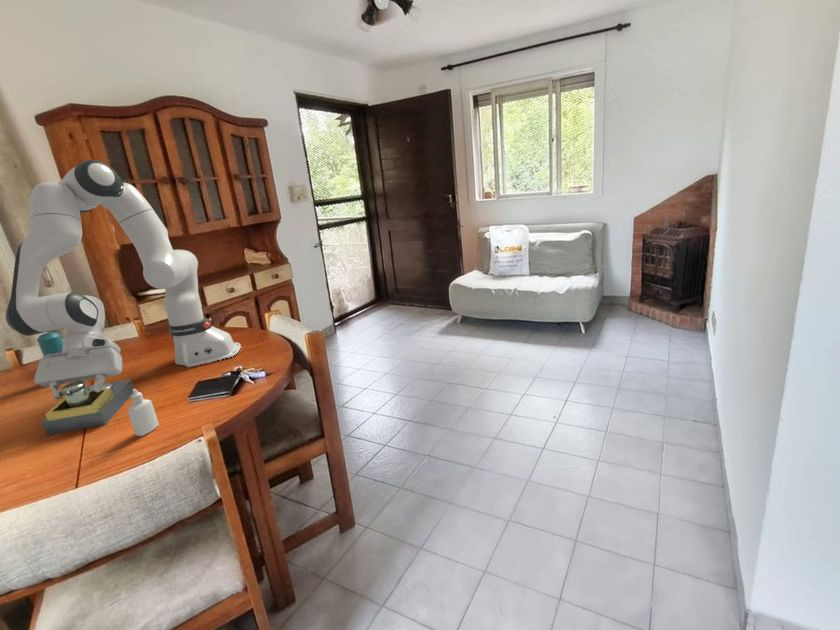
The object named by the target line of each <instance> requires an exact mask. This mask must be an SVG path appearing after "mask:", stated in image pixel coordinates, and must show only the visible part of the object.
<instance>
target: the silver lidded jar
mask: <svg viewBox="0 0 840 630" xmlns="http://www.w3.org/2000/svg"><path fill="white" fill-rule="evenodd" d="M86 387H87V386H86V383H85V381H78V382H72V383H67V384H66V385H64V386H63V387H62V388H61V389H60V391H61V392H62V395H63V398H65V399H66V401H67V403H68V405H69V408H76V407H82V406H87V405H91V404H92V403H93V402H92V399H91V397H90V395H89V393H88V390H87V388H86Z"/></svg>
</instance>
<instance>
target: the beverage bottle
mask: <svg viewBox="0 0 840 630" xmlns="http://www.w3.org/2000/svg"><path fill="white" fill-rule="evenodd" d="M39 335H40V336H38V337H37V339H36V341H37V344H38V346H39V348H40V352H41V354H42V355H43V357H44V356H46V355H47V354H54V353H59V352H62V349H63V342H64V340H63V338H62V337H61V334H60V333H58V332H55V331H49V332H48V331H46V332H44V333H41V334H39Z"/></svg>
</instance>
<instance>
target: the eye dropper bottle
mask: <svg viewBox="0 0 840 630" xmlns="http://www.w3.org/2000/svg"><path fill="white" fill-rule="evenodd" d="M129 398H130V400H131V402H132V404H131V405H130V407H129V408H128V416H129V419H130V422H131V423H130V424H131V426H132V429H133V431H134V434H135V437H144V436H143V435H145V434H147V433H149V432H150V433H152V432H153V431H155V430H156V429H157V428H158V427H159V421H158V417H157V414H156V412H155V411H156V410H155V408H154V404H153V403H152V400H151V399H147V398H146V399H144V397H143V393H142V392H140V391H138V390H137V389H136V388H134V389H133V394H132V395H131V396H130V397H129ZM157 426H158V427H157ZM156 427H157V428H156ZM155 428H156V429H155ZM154 429H155V430H154ZM152 430H153V431H152ZM151 431H152V432H151ZM150 433H149V434H150ZM147 435H148V434H147ZM145 436H146V435H145Z"/></svg>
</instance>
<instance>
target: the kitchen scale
mask: <svg viewBox="0 0 840 630" xmlns="http://www.w3.org/2000/svg"><path fill="white" fill-rule="evenodd" d="M86 388H87V390H88V393H89V395H90V397H91V399H92V402H93V403H92V404H91V405H87V406H82V407H76V408H69V405H68V403H67V401H66V399H65V397H63V398H61V399H60V401H59V402H58V403H56V404H55V405H54V406H53V407H51V409H50V410H48V411H47V412H46V413H45V418H44V419H43V420H42V421H41V425H42V427H43V429H44V432H45V434H46V435H47V436H49V435H50V436H51V435H55V434H62V433H66V432H72V431H77V430H83V429H84V430H85V429H90V428H94V427H100V426H105V425H107V424H108V423H109V422H110V420H111V419H112V418H113V417H114V416H115V415H116V413H117V412H118V411H119V410H120V409H121V407H122V406H123V405H124V404H126V402H127V401H128V399H130V398H131V397H130V396H131V395H132V394H133V389H135V387H134V384H133V381H132V379H127V380H121V381H120V380H119V381H113V382H104V383H103V384H102V385H101V386H100V392H97V393H92V392H91V391H90V389H91V385H90V386H86Z"/></svg>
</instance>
